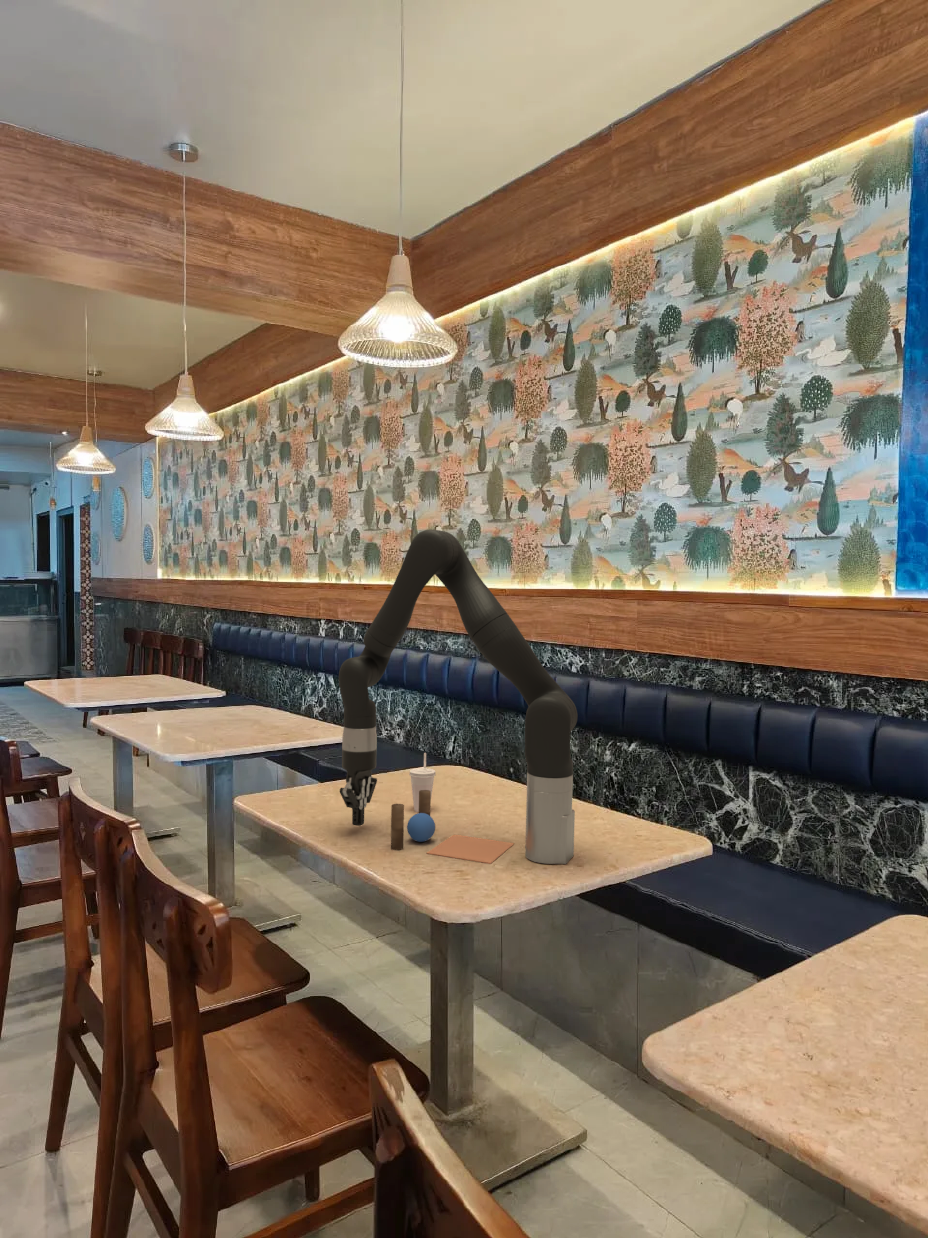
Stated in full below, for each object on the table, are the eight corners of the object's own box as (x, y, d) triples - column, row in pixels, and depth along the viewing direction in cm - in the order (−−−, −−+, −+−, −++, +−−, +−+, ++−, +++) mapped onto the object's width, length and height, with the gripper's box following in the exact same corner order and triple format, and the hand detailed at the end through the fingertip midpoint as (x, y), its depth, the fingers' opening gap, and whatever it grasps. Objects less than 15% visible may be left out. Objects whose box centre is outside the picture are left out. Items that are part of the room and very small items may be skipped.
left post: (405, 847, 177) (406, 804, 177) (399, 851, 175) (400, 807, 174) (394, 845, 178) (395, 803, 178) (388, 849, 176) (389, 806, 176)
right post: (431, 830, 189) (432, 790, 189) (426, 834, 187) (427, 793, 187) (421, 829, 190) (422, 789, 190) (416, 832, 188) (417, 792, 188)
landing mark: (514, 844, 181) (514, 843, 181) (490, 864, 168) (490, 863, 168) (453, 835, 186) (453, 834, 186) (426, 853, 174) (426, 852, 173)
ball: (443, 833, 183) (433, 806, 184) (432, 840, 177) (421, 813, 178) (420, 840, 185) (410, 814, 186) (408, 848, 180) (398, 821, 180)
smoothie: (431, 814, 202) (432, 756, 202) (405, 812, 204) (406, 754, 203) (437, 807, 208) (438, 751, 208) (412, 806, 210) (413, 749, 209)
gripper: (359, 754, 179) (358, 835, 180) (388, 743, 191) (387, 819, 192) (328, 750, 182) (327, 830, 183) (359, 740, 194) (358, 815, 195)
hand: (358, 824), depth 188 cm, fingers closed
